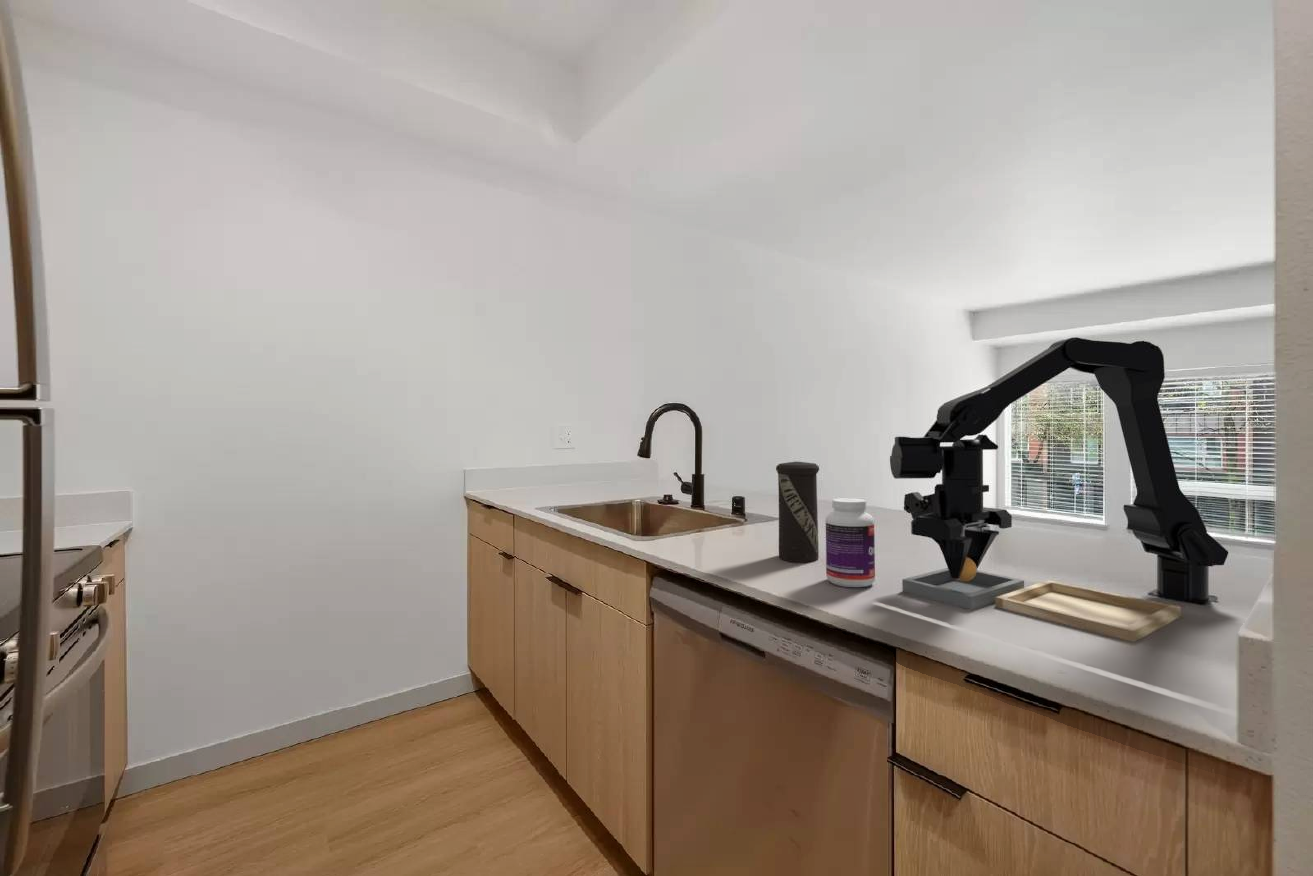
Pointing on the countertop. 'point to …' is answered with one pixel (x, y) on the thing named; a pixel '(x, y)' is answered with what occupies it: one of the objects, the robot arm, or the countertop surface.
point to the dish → (1090, 609)
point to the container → (798, 511)
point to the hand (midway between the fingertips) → (962, 576)
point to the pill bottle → (850, 544)
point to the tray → (961, 588)
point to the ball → (968, 570)
